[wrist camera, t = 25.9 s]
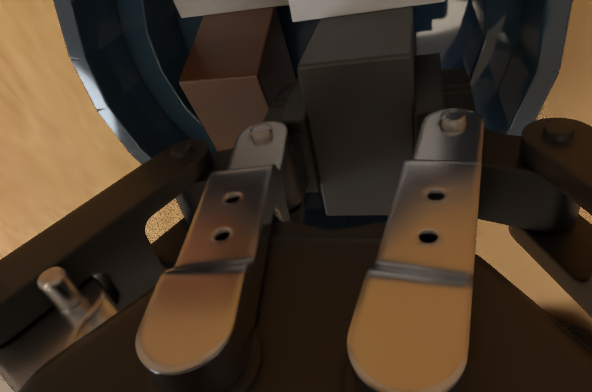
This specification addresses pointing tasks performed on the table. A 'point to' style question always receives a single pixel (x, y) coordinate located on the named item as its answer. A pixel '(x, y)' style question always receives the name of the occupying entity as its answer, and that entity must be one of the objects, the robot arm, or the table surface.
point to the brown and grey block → (234, 64)
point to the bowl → (182, 31)
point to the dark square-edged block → (359, 98)
